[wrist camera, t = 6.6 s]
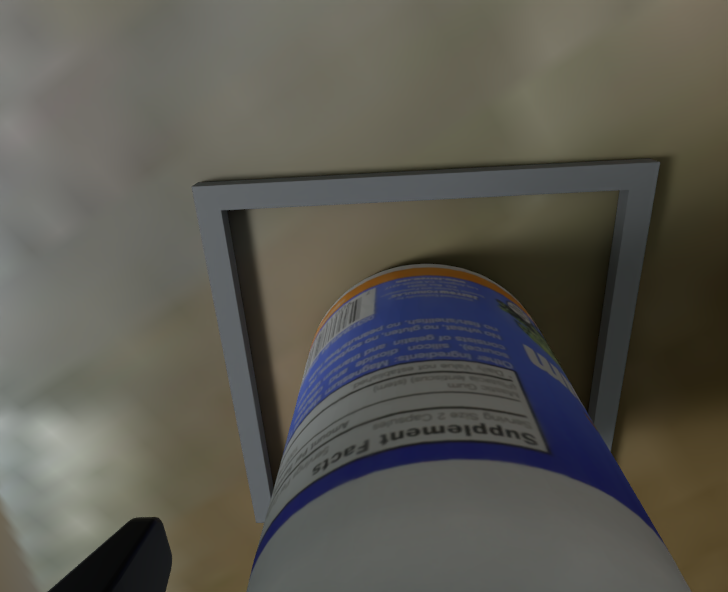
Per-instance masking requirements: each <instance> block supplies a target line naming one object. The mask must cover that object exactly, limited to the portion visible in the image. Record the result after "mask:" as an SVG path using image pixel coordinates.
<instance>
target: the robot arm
mask: <svg viewBox="0 0 728 592" xmlns="http://www.w3.org/2000/svg"><path fill="white" fill-rule="evenodd" d="M171 566H172V554H171V550H170V546H169V543H168V540H167V536H166V533H165V529H164V526H163V523H162V521H161V520H160V519H159V518H157V517H138V518H133V519H131V520H130V521H128V522H127V523H126V524H125V525H124V526H123V527H121V528H120V529H119V530H118V531H117V532H116V533H114V534H113V535H112V536H111V537H110V538H109V539H108V540H106V541H105V542H104V543H103V544H102V545H101V546H100V547H98V548H97V549H96V550H95V551H94V552H93V553H91V554H90V555H89V556H88V557H87V558H86V559H85V560H83V561H82V562H81V563H80V564H79V565H78V566H77V567H75V568H74V569H73V570H72V571H71V572H70V573H69V574H67V575H66V576H65V577H64V578H63V579H62V580H60V581H59V582H58V583H57V584H56V585H55V586H54V587H52V588H51V589H50V590H49V591H48V592H165V591H166V587H167V583H168V579H169V576H170V572H171Z"/></svg>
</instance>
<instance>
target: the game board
mask: <svg viewBox="0 0 728 592" xmlns="http://www.w3.org/2000/svg"><path fill="white" fill-rule="evenodd" d="M659 166H660V162H659V161H656V160H653V159H650V158H649V159H630V160H611V161H593V162H574V163H555V164H536V165H517V166H498V167H480V168H461V169H442V170H423V171H404V172H386V173H367V174H348V175H329V176H310V177H291V178H273V179H254V180H235V181H216V182H198V183H196V184H195V185H193V186H192V192H193V197H194V202H195V207H196V212H197V218H198V223H199V228H200V233H201V238H202V244H203V249H204V254H205V259H206V264H207V270H208V275H209V280H210V285H211V290H212V296H213V301H214V306H215V311H216V316H217V322H218V327H219V332H220V337H221V342H222V347H223V353H224V358H225V363H226V368H227V373H228V379H229V384H230V389H231V394H232V399H233V405H234V410H235V415H236V420H237V425H238V431H239V436H240V441H241V446H242V451H243V457H244V462H245V467H246V472H247V477H248V482H249V488H250V493H251V498H252V503H253V508H254V514H255V519H256V523H265V519H266V515H267V512H268V508H269V504H270V501H271V497H272V493H273V490H274V487H273V481H272V475H271V469H270V463H269V457H268V451H267V445H266V439H265V433H264V428H263V422H262V416H261V410H260V404H259V398H258V392H257V386H256V380H255V374H254V368H253V362H252V356H251V350H250V344H249V338H248V332H247V326H246V320H245V314H244V308H243V302H242V297H241V291H240V285H239V279H238V273H237V267H236V261H235V255H234V249H233V243H232V237H231V231H230V225H229V219H228V213H227V210H238V209H258V208H278V207H297V206H317V205H337V204H357V203H377V202H396V201H416V200H436V199H456V198H476V197H495V196H515V195H535V194H555V193H575V192H595V191H614V190H620V191H619V199H618V206H617V213H616V220H615V227H614V234H613V241H612V248H611V255H610V262H609V269H608V276H607V283H606V290H605V297H604V304H603V311H602V318H601V325H600V332H599V339H598V346H597V353H596V360H595V367H594V374H593V381H592V388H591V395H590V402H589V409H588V415H589V416H590V418H591V420H592V422H593V423H594V425H595V427H596V428H597V430H598V432H599V433H600V435H601V437H602V438H603V440H604V442H605V444H606V445H607V447H608V449H609V450H610V452H611V447H612V441H613V435H614V429H615V424H616V418H617V412H618V406H619V400H620V394H621V388H622V383H623V377H624V371H625V365H626V359H627V353H628V347H629V342H630V336H631V330H632V324H633V318H634V312H635V306H636V301H637V295H638V289H639V283H640V277H641V271H642V265H643V260H644V254H645V248H646V242H647V236H648V230H649V224H650V219H651V213H652V207H653V201H654V195H655V189H656V183H657V177H658V172H659Z"/></svg>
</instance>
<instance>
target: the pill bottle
mask: <svg viewBox="0 0 728 592" xmlns="http://www.w3.org/2000/svg"><path fill="white" fill-rule="evenodd" d="M247 592H691V590H690V588H689V586H688V585H687V583H686V581H685V579H684V578H683V576H682V574H681V572H680V571H679V569H678V567H677V565H676V563H675V561H674V560H673V558H672V556H671V554H670V553H669V551H668V549H667V547H666V546H665V544H664V542H663V541H662V539H661V537H660V535H659V534H658V532H657V530H656V529H655V527H654V525H653V524H652V522H651V520H650V518H649V517H648V515H647V513H646V512H645V510H644V508H643V506H642V505H641V503H640V501H639V500H638V498H637V496H636V494H635V493H634V491H633V489H632V488H631V486H630V484H629V483H628V481H627V479H626V477H625V476H624V474H623V472H622V471H621V469H620V467H619V465H618V464H617V462H616V460H615V459H614V457H613V455H612V454H611V452H610V450H609V449H608V447H607V445H606V444H605V442H604V440H603V438H602V437H601V435H600V433H599V432H598V430H597V428H596V427H595V425H594V423H593V422H592V420H591V418H590V416H589V415H588V413H587V411H586V409H585V408H584V406H583V404H582V402H581V401H580V399H579V397H578V396H577V394H576V392H575V390H574V388H573V387H572V385H571V383H570V381H569V380H568V378H567V376H566V375H565V373H564V371H563V369H562V368H561V366H560V364H559V363H558V361H557V359H556V358H555V356H554V354H553V353H552V351H551V349H550V347H549V346H548V344H547V342H546V340H545V339H544V337H543V335H542V334H541V332H540V330H539V328H538V327H537V325H536V323H535V322H534V321H533V319H532V318H531V316H530V315H529V314H528V312H527V311H526V310H525V308H524V307H523V306H522V305H521V303H520V302H519V301H518V300H517V299H516V298H515V297H514V296H513V295H512V294H510V293H509V292H508V291H507V290H506V289H504V288H503V287H501V286H500V285H499V284H497V283H495V282H494V281H492V280H490V279H489V278H487V277H485V276H483V275H480V274H478V273H475V272H472V271H469V270H466V269H464V268H459V267H454V266H448V265H441V264H413V265H405V266H400V267H395V268H391V269H388V270H385V271H382V272H379V273H377V274H375V275H372V276H370V277H368V278H366V279H364V280H363V281H361V282H359V283H358V284H356V285H354V286H353V287H352V288H350V289H349V290H348V291H347V292H345V293H344V294H343V295H342V296H341V297H340V298H339V299H338V300H337V301H336V302H335V303H334V304H333V306H332V307H331V308H330V309H329V311H328V312H327V313H326V315H325V316H324V318H323V320H322V321H321V323H320V325H319V327H318V329H317V332H316V334H315V337H314V339H313V342H312V345H311V348H310V352H309V356H308V360H307V364H306V368H305V372H304V376H303V380H302V384H301V388H300V392H299V396H298V400H297V404H296V407H295V411H294V415H293V419H292V422H291V426H290V430H289V434H288V437H287V441H286V445H285V449H284V452H283V456H282V460H281V464H280V467H279V471H278V475H277V479H276V482H275V486H274V490H273V493H272V497H271V501H270V504H269V508H268V512H267V515H266V519H265V523H264V526H263V530H262V534H261V538H260V541H259V545H258V549H257V552H256V556H255V559H254V563H253V567H252V571H251V575H250V580H249V584H248V588H247Z"/></svg>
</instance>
